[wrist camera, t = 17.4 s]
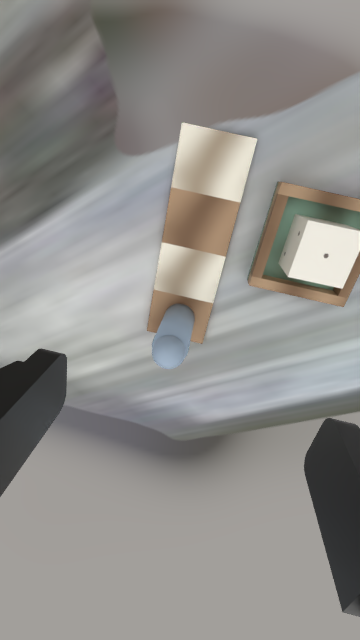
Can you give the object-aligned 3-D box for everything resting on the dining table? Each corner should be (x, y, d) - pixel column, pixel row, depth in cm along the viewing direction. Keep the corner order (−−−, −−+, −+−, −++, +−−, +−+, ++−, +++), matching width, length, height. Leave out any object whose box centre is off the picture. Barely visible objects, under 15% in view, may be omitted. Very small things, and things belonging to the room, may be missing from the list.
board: (256, 139, 28) (257, 138, 27) (202, 341, 37) (202, 343, 37) (182, 123, 28) (182, 122, 27) (147, 328, 38) (146, 330, 37)
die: (345, 224, 29) (368, 233, 25) (325, 273, 32) (342, 289, 27) (294, 213, 30) (307, 220, 25) (277, 263, 32) (287, 277, 27)
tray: (380, 204, 29) (392, 206, 27) (336, 299, 33) (343, 307, 31) (277, 181, 29) (281, 181, 27) (247, 278, 33) (248, 285, 31)
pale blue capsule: (198, 309, 35) (190, 351, 27) (189, 334, 37) (179, 382, 28) (169, 299, 35) (151, 338, 26) (161, 325, 37) (142, 370, 28)
